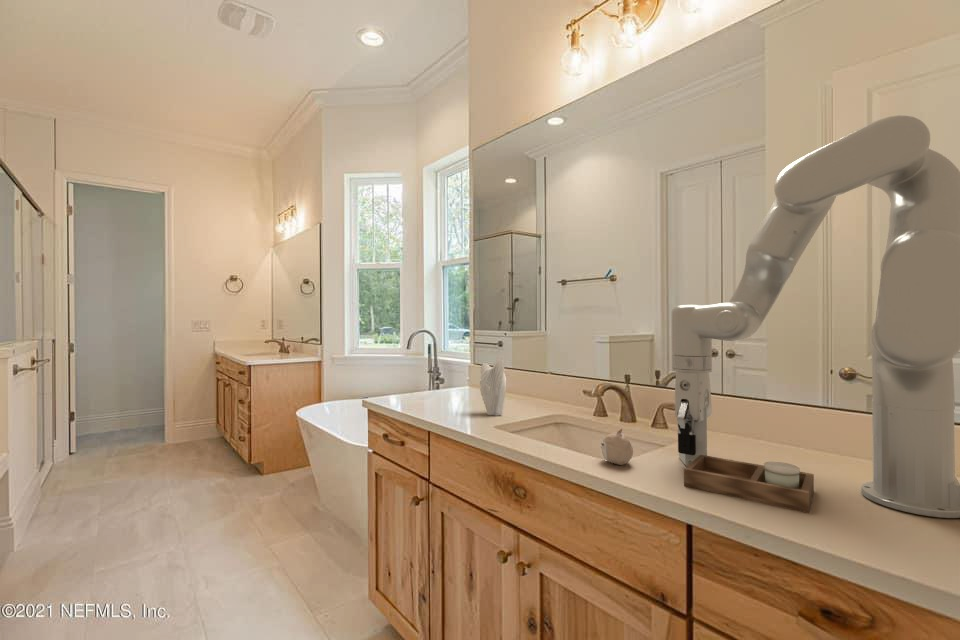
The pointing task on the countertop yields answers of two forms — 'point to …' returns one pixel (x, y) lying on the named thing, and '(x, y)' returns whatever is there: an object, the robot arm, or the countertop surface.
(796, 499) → the walnut caddy
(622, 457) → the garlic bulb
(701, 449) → the skincare box
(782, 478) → the cream jar
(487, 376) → the shell sculpture
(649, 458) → the countertop surface
